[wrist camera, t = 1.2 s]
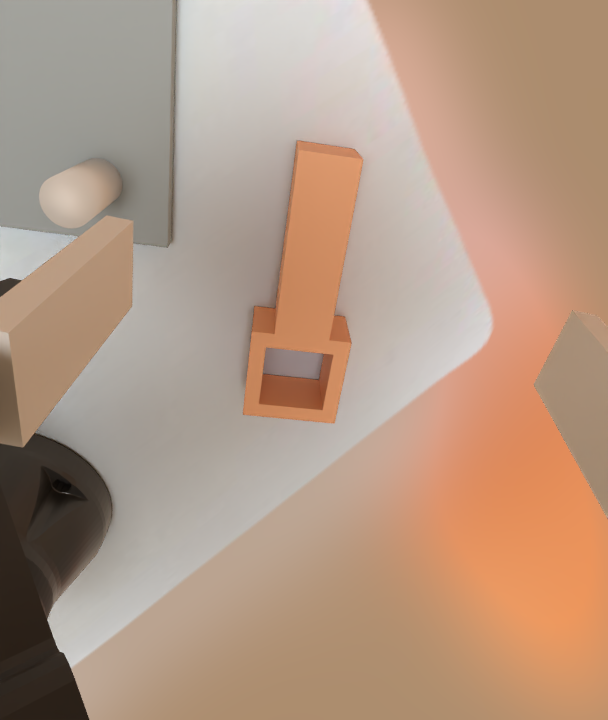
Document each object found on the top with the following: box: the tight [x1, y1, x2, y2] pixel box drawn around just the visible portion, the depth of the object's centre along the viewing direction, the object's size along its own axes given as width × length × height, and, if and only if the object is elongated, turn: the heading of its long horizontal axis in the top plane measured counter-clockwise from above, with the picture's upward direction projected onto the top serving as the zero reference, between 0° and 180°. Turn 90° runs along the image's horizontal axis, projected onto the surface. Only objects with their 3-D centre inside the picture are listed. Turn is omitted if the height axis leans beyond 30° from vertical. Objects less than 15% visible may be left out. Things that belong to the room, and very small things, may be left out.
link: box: [243, 141, 363, 423], centre depth 34 cm, size 17×6×4 cm, turn 172°
